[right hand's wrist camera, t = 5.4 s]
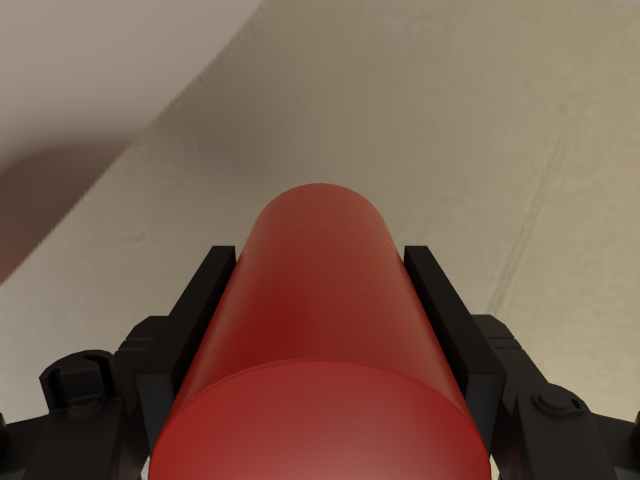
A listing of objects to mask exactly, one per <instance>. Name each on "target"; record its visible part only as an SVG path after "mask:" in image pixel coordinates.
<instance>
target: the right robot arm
mask: <svg viewBox="0 0 640 480" xmlns="http://www.w3.org/2000/svg"><path fill="white" fill-rule="evenodd" d="M403 264H404V266H405V268H406V270H407V273H408V275H409V277H410V279H411V282H412V284H413V286H414V288H415V290H416V293H417V295H418V297H419V299H420V302H421V304H422V306H423V308H424V311H425V313H426V315H427V317H428V319H429V322H430V324H431V326H432V328H433V331H434V333H435V335H436V337H437V339H438V342H439V344H440V346H441V348H442V351H443V353H444V355H445V357H446V359H447V362H448V364H449V366H450V368H451V371H452V373H453V375H454V377H455V379H456V382H457V384H458V386H459V388H460V391H461V393H462V395H463V397H464V399H465V402H466V404H467V406H468V408H469V411H470V413H471V415H472V417H473V419H474V422H475V424H476V426H477V428H478V431H479V433H480V435H481V437H482V440H483V442H484V444H485V446H486V449H487V452H488V456H489V460H490V456H491V454H492V457H493V459H494V461H495V463H496V465H497V468H498V470H499V477H498V480H640V411H639V412H638V414H637V417H636V420H635V422H634V423H633V422H629V421H624V420H620V419H615V418H611V417H607V416H602V415H598V414H595V413H592V412H591V411H590V410H589V408H588V407H587V405H586V404H585V402H584V401H583V400H581V399H580V398H579V397H578V396H577V395H575V394H574V393H573V392H571V391H569V390H567V389H565V388H563V387H561V386H558V385H555V384H551V383H548V381H547V380H546V379H545V377H544V376H543V375H542V373H541V372H540V371H539V369H538V368H537V367H536V365H535V364H534V363H533V361H532V360H531V359H530V357H529V356H528V355H527V353H526V352H525V351H524V349H522V347H521V345H520V344H519V343H518V341H517V340H516V339H514V336H513V335H512V333H511V332H510V331H509V329H508V328H507V327H506V325H505V324H503V323H502V322H500V321H499V320H497V319H496V318H494V317H493V316H491V315H471V314H470V313H469V311H468V310H467V308H466V306H465V305H464V303H463V302H462V300H461V299H460V297H459V295H458V294H457V292H456V291H455V289H454V288H453V286H452V284H451V283H450V281H449V280H448V278H447V277H446V275H445V273H444V272H443V270H442V269H441V267H440V266H439V264H438V262H437V261H436V259H435V258H434V256H433V255H432V253H431V251H430V250H429V248H428V247H427V246H405V250H404V263H403ZM235 265H236V254H235V246H212V248H211V249H210V251H209V253H208V254H207V256H206V257H205V259H204V260H203V262H202V264H201V265H200V267H199V268H198V270H197V271H196V273H195V275H194V276H193V278H192V279H191V281H190V282H189V284H188V286H187V287H186V289H185V290H184V292H183V293H182V295H181V297H180V298H179V300H178V301H177V303H176V304H175V306H174V308H173V309H172V311H171V312H170V314H169V315H168V316H149V317H147V318H146V319H145V320H143V321H142V322H140V323H139V324H137V325H136V326H135V327H134V328H133V329H132V331H131V332H130V333H129V335H128V336H127V337H126V341H123V343H122V344H121V345H120V347H119V348H118V351H116V352H115V353H114V355H112V354H111V353H110V352H108V351H103V350H85V351H81V352H77V353H73V354H70V355H68V356H66V357H64V358H61V359H59V360H57V361H56V362H54V363H53V364H52V365H50V366H49V367H47V368H46V369H45V370H44V372H43V373H42V374H41V375H40V377H39V380H40V383H41V386H42V389H43V393H44V396H45V399H46V402H47V405H48V409H49V414H47V415H44V416H41V417H37V418H32V419H28V420H23V421H19V422H15V423H10V424H6V423H5V421H4V418H3V415H2V413H0V480H142V477H141V471H142V469H143V467H144V465H145V462H146V460H147V458H148V456H149V457H150V459H151V455H152V451H153V447H154V445H155V443H156V441H157V438H158V436H159V434H160V432H161V430H162V427H163V425H164V423H165V421H166V418H167V416H168V414H169V412H170V410H171V407H172V405H173V403H174V401H175V398H176V396H177V394H178V392H179V390H180V387H181V385H182V383H183V381H184V379H185V376H186V374H187V372H188V370H189V367H190V365H191V363H192V361H193V359H194V356H195V354H196V352H197V350H198V347H199V345H200V343H201V341H202V339H203V336H204V334H205V332H206V330H207V328H208V325H209V323H210V321H211V319H212V316H213V314H214V312H215V310H216V308H217V305H218V303H219V301H220V299H221V296H222V294H223V292H224V290H225V288H226V285H227V283H228V281H229V279H230V277H231V274H232V272H233V270H234V268H235Z"/></svg>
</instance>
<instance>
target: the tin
mask: <svg viewBox="0 0 640 480" xmlns="http://www.w3.org/2000/svg"><path fill="white" fill-rule="evenodd" d="M148 480H492V479H491V464H490V460H489V456H488V452H487V449H486V446H485V444H484V442H483V440H482V437H481V435H480V433H479V431H478V428H477V426H476V424H475V422H474V419H473V417H472V415H471V413H470V411H469V408H468V406H467V404H466V402H465V399H464V397H463V395H462V393H461V391H460V388H459V386H458V384H457V382H456V379H455V377H454V375H453V373H452V371H451V368H450V366H449V364H448V362H447V359H446V357H445V355H444V353H443V351H442V348H441V346H440V344H439V342H438V339H437V337H436V335H435V333H434V331H433V328H432V326H431V324H430V322H429V319H428V317H427V315H426V313H425V311H424V308H423V306H422V304H421V302H420V299H419V297H418V295H417V293H416V290H415V288H414V286H413V284H412V282H411V279H410V277H409V275H408V273H407V270H406V268H405V266H404V264H403V262H402V259H401V257H400V255H399V253H398V250H397V248H396V246H395V244H394V242H393V239H392V237H391V235H390V233H389V230H388V228H387V226H386V224H385V222H384V219H383V218H382V216H381V215H380V213H379V212H378V210H377V209H376V208H375V207H374V206H373V205H372V204H371V203H370V202H369V201H368V200H367V199H365V198H364V197H363V196H361V195H360V194H358V193H356V192H354V191H352V190H350V189H348V188H345V187H342V186H338V185H333V184H324V183H316V184H307V185H302V186H298V187H295V188H292V189H290V190H288V191H286V192H284V193H282V194H280V195H279V196H277V197H276V198H274V199H273V200H272V201H271V202H270V203H269V204H268V205H267V206H266V207H265V208H264V209H263V210H262V211H261V213H260V215H259V216H258V218H257V219H256V221H255V223H254V226H253V228H252V230H251V232H250V234H249V237H248V239H247V241H246V243H245V245H244V248H243V250H242V252H241V254H240V257H239V259H238V261H237V263H236V265H235V268H234V270H233V272H232V274H231V277H230V279H229V281H228V283H227V285H226V288H225V290H224V292H223V294H222V296H221V299H220V301H219V303H218V305H217V308H216V310H215V312H214V314H213V316H212V319H211V321H210V323H209V325H208V328H207V330H206V332H205V334H204V336H203V339H202V341H201V343H200V345H199V347H198V350H197V352H196V354H195V356H194V359H193V361H192V363H191V365H190V367H189V370H188V372H187V374H186V376H185V379H184V381H183V383H182V385H181V387H180V390H179V392H178V394H177V396H176V398H175V401H174V403H173V405H172V407H171V410H170V412H169V414H168V416H167V418H166V421H165V423H164V425H163V427H162V430H161V432H160V434H159V436H158V438H157V441H156V443H155V445H154V447H153V451H152V455H151V459H150V462H149V472H148Z"/></svg>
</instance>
